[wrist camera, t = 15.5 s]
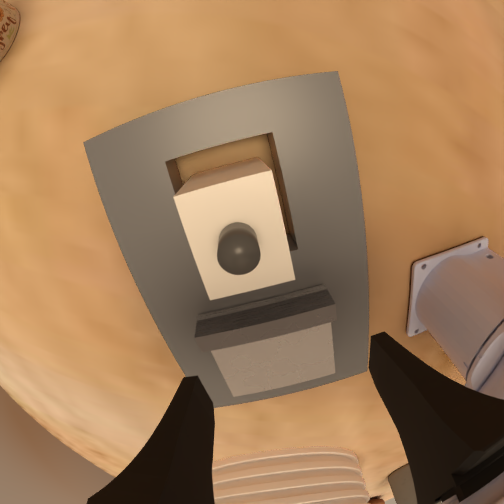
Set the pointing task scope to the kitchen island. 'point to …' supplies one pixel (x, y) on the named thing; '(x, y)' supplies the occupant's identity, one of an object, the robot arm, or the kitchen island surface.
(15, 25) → the mug
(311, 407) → the kitchen island surface
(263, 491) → the plate stack
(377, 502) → the ceramic jug
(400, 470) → the grey stone figurine
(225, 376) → the block
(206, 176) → the plug
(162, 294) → the socket
